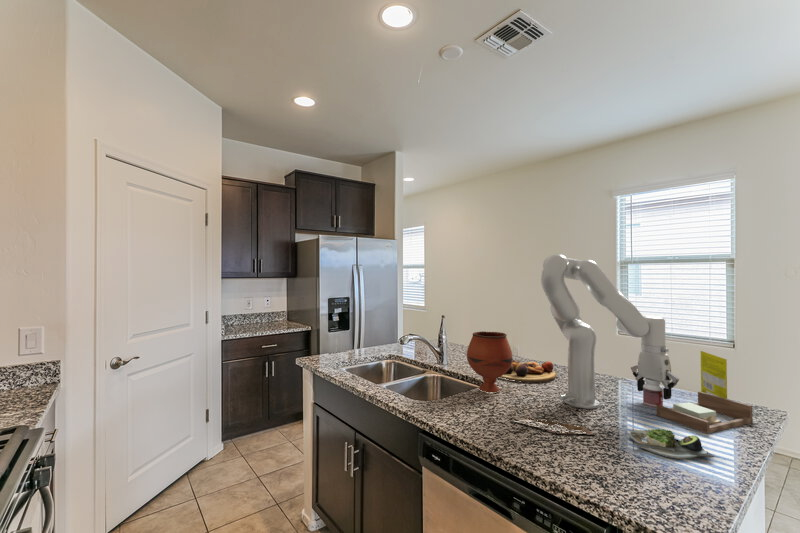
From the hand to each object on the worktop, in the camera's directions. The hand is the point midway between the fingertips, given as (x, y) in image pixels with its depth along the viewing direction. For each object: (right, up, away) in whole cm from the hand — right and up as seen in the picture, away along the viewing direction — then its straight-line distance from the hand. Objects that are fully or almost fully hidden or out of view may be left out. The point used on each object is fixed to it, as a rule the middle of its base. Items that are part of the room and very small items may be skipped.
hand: (653, 394), depth 137 cm
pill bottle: (0, -6, 0) cm, 6 cm away
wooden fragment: (-46, -5, -17) cm, 49 cm away
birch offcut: (+3, -4, -15) cm, 16 cm away
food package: (+24, -6, +2) cm, 25 cm away
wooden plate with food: (-34, -7, +47) cm, 58 cm away
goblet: (-57, -6, +20) cm, 61 cm away
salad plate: (-16, -5, -30) cm, 35 cm away
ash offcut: (+3, -2, -15) cm, 15 cm away
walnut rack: (+8, -5, -13) cm, 16 cm away
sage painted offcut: (+3, -1, -15) cm, 15 cm away
